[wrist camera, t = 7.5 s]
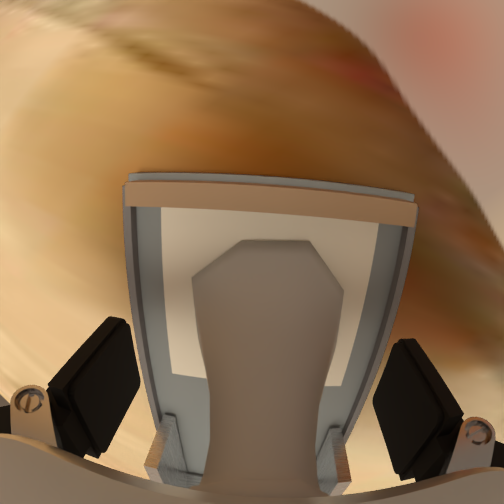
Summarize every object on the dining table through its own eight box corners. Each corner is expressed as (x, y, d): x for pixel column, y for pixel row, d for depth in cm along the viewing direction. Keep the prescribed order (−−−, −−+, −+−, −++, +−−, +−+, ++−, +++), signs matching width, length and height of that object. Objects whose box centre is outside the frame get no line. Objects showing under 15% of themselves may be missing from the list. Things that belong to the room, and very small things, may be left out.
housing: (341, 427, 16) (351, 481, 11) (295, 514, 21) (296, 545, 17) (163, 414, 16) (143, 465, 12) (189, 506, 21) (182, 536, 17)
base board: (405, 192, 12) (428, 198, 10) (314, 483, 20) (316, 501, 18) (137, 172, 13) (115, 175, 11) (177, 472, 21) (172, 490, 19)
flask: (168, 262, 13) (27, 426, 4) (323, 213, 12) (462, 368, 2) (225, 380, 15) (189, 548, 5) (355, 347, 14) (413, 522, 4)
